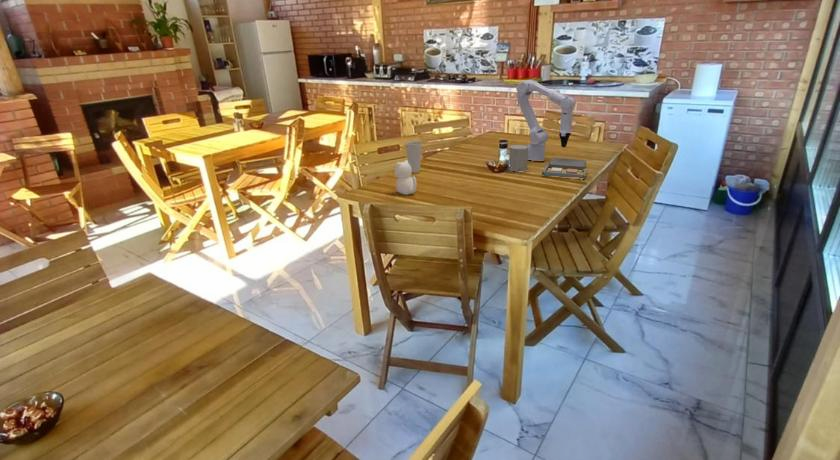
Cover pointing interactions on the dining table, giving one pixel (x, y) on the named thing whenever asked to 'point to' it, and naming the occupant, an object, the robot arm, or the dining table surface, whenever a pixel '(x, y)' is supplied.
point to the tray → (562, 173)
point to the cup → (414, 155)
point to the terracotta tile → (572, 171)
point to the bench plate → (567, 163)
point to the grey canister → (518, 157)
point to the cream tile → (557, 170)
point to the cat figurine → (405, 178)
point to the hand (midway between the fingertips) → (563, 147)
